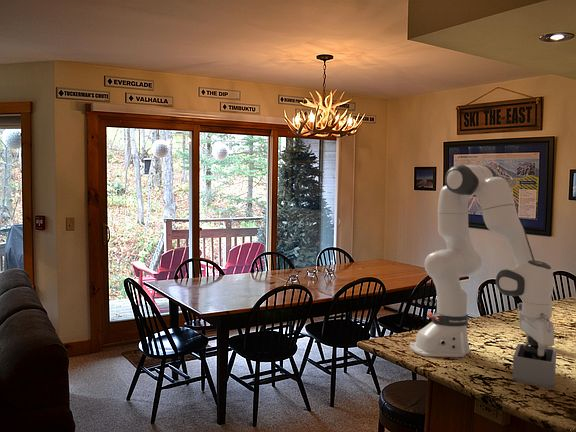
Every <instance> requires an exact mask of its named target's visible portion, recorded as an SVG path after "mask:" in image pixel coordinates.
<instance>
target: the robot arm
mask: <svg viewBox="0 0 576 432" xmlns="http://www.w3.org/2000/svg"><path fill="white" fill-rule="evenodd" d="M444 176H445V177H444V184H445V185H443V186H442V187H441V189H440V191H439V194H438V195H439V196H438V201H437V232H438V235H439V236H440V237H441V238H442V239H443V240H444V242H445V245H446V246H445V247H446V249H439V250H435V251H434V252H431V253H430V254H428V255H427V256H426V257H425V259H424V265H423V266H424V270H425V272H426V274H427V275H428V276H429V277H430V278H431V280H432V281H433V283H434V287H435V290H436V311H435V312H434V313H432V312H431V311H429V312H427V314H426V315H427V317H428V318H430V319H432V320H431V322H429V323H428V324H426V325H425V326H424V327H422V328H421V329H420V330H418V331H417V334H416V335H415V336H416V338H415V342H410V344H409V348H410V350H412V351H413V352H414V353H415V354H418V355H419V356H423V357H439V358H440V357H442V358H444V357H445V358H446V357H447V358H464V357H465V356H466V355H468V354H469V353H470V352H471V349H470V345H469V339H468V325H469V323H468V322H469V317H468V316H469V314H468V313H467V312H468V293H467V292H466V291H465V289H463V288H462V287H461V283H460V278H462V277H463V278H464V277H469V276H471V275H473V274H475V273H478V272H479V270H480V269H481V267H482V258H481V255H480V254H479V253H478V251H477V250H476V249H475V248H474V246H473V244H472V243H473V242H472V241H471V238H470V237H471V236H470V231H469V230H470V229H469V201H470V199H471V198H472V197H475V198H478V200H479V203H480V208H481V214H482V218H483V222H484V224H485V226H486V228H487V229H488V230H489V231H491V232H492V233H493V234H496V235H499V236H500V237H501V238H503V239H505V240H506V241H507V243H508V244H509V247H510V249H511V252H512V255H513V260H514V262H515V266H512V267H508V268H504V269H502V270H499V272H498V273H497V274H496V276H495V285H496V288H497V290H498V292H500V293H501V294H502V295H504V296H508V297H517V296H518V297H522V302H519V303H518V305H517V310H519V313H518V319H519V320H518V324H519V328H520V330H521V331H522V332H523V333H525V338H526V344H527V343H528V336H530V337H532V338H533V339H534V340H535V341H537V342H538V345H539V346H538V349H537V355H539V356H544V350H545V348H547V347H553V346H554V344H555V327H554V323H553V322H552V321H551V320H550V319H551V318H552V317H553V299H552V293H553V291H554V272H553V268H552V267H551V265H549V264H548V263H546V262H544V261H541V260H535V258H534V255H533V251H532V248H531V245H530V242H529V238H528V235H527V232H526V231H525V228H524V226H523V225H522V222H521V220H520V218H519V215H518V212H517V209H516V204H515V200H514V196H513V193H512V190H511V187H510V185H509V183H508V181H507V180H506V179H505V178H503V177H501V176H498V175H497V172H496V171H495V170H494V169H493V168H491V167H489V166H487V165H481V164H473V163H472V164H458V165H455V166H452V167H450V168H449V169H448V170H447V172H446V174H445V175H444ZM546 346H547V347H546Z"/></svg>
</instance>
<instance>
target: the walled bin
mask: <svg viewBox="0 0 576 432" xmlns="http://www.w3.org/2000/svg"><path fill="white" fill-rule="evenodd" d="M524 346H525V344H522V343H517V346H516V349H515V351H514V354H513V357H512V358H513V361H512V382H518V383H522V384H529V385H533V386H539V387H545V388H552V389H554V388H555V382H556V381H555V380H556V379H555V378H556V370H557V369H556V368H557V349H556V348H551V347H549V348H548V347H546V349H547V356H546V361H543V360H537V359H530V358H524Z"/></svg>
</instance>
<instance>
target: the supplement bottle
mask: <svg viewBox="0 0 576 432" xmlns="http://www.w3.org/2000/svg"><path fill="white" fill-rule="evenodd" d="M524 345H525V346H524V358H530V359H537V360H543V361H546V356H547V349H546V348H547V347H546V348H545V350H544V356H539V355H537V349H538V346H539V345H538V342H537V341H535V340H534V339H533V338H532V337H530V336H528V343H527V342H526V343H525V344H524Z"/></svg>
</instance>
